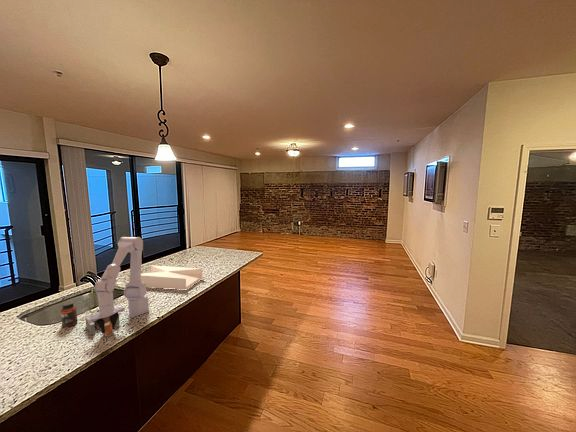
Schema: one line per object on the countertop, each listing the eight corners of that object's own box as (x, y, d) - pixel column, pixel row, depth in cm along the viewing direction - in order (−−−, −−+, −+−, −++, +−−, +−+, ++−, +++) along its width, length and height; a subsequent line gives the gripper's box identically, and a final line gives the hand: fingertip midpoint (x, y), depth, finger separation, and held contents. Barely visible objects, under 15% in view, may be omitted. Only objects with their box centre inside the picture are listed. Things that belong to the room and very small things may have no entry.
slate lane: (113, 317, 133) (112, 308, 133) (119, 325, 126) (118, 316, 125) (86, 326, 125) (85, 316, 124) (91, 335, 117) (90, 325, 116)
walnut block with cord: (106, 321, 130) (106, 312, 129) (115, 332, 119) (114, 322, 119) (95, 324, 126) (94, 315, 125) (102, 337, 115) (101, 327, 115)
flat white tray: (202, 280, 191) (202, 268, 190) (186, 291, 170) (185, 278, 169) (151, 276, 199) (150, 265, 198) (129, 287, 177) (128, 274, 176)
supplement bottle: (76, 320, 130) (74, 299, 129) (78, 324, 127) (77, 303, 126) (61, 324, 126) (59, 303, 125) (63, 328, 122) (61, 307, 121)
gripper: (119, 296, 125) (121, 321, 126) (84, 307, 113) (86, 335, 114) (125, 300, 121) (127, 326, 123) (90, 311, 109) (92, 340, 110)
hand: (108, 330), depth 118 cm, fingers closed on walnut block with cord, 3 cm apart
